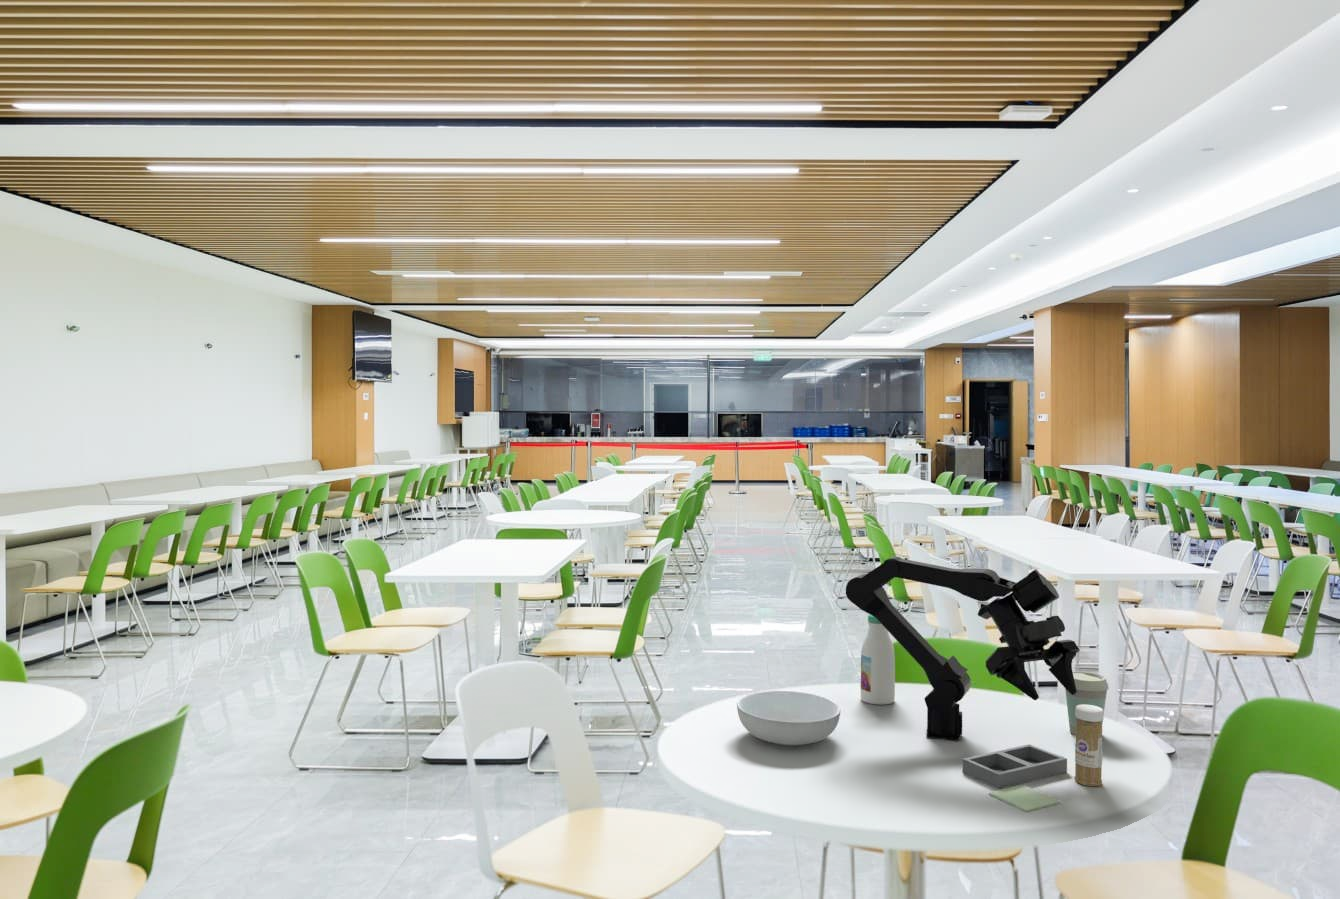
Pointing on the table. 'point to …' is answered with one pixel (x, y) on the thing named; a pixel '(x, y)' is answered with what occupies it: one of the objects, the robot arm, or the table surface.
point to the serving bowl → (788, 716)
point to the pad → (1024, 798)
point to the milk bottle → (877, 665)
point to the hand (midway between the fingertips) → (1056, 696)
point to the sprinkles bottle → (1088, 744)
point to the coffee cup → (1086, 694)
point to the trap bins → (1014, 766)
